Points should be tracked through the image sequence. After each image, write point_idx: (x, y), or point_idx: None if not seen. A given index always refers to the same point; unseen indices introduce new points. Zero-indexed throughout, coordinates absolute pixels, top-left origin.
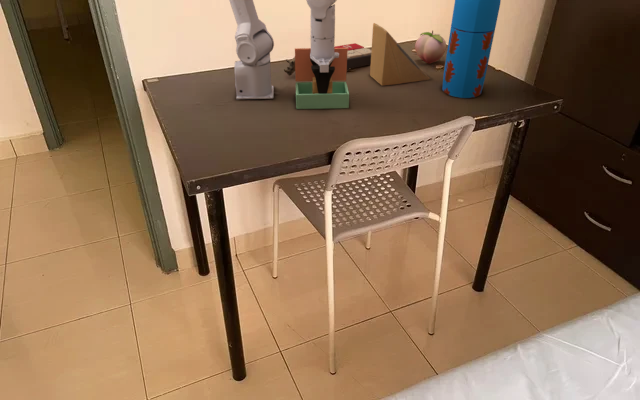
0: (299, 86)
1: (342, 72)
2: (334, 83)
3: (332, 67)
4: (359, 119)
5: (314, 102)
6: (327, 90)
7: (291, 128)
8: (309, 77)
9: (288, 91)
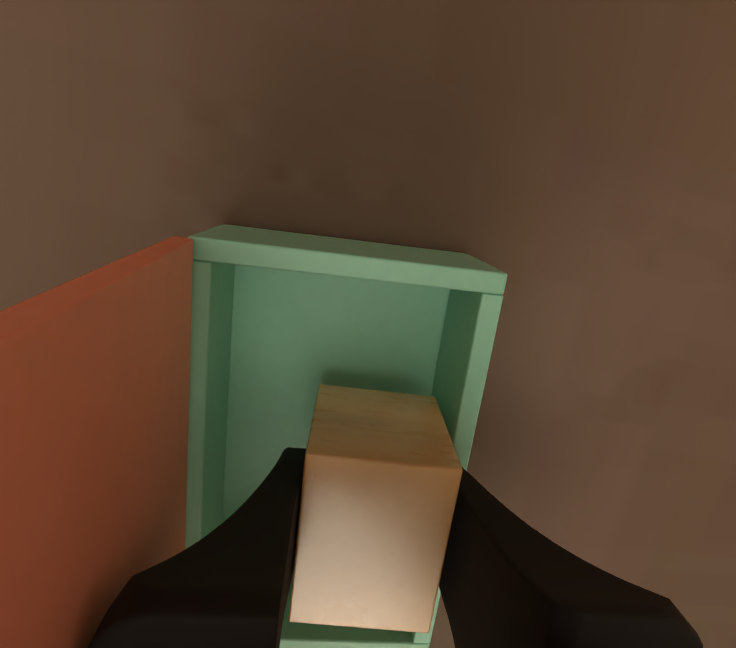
0: None
1: (166, 304)
2: (208, 351)
3: (614, 646)
4: (660, 219)
5: None
6: (465, 471)
7: None
8: None
9: None
